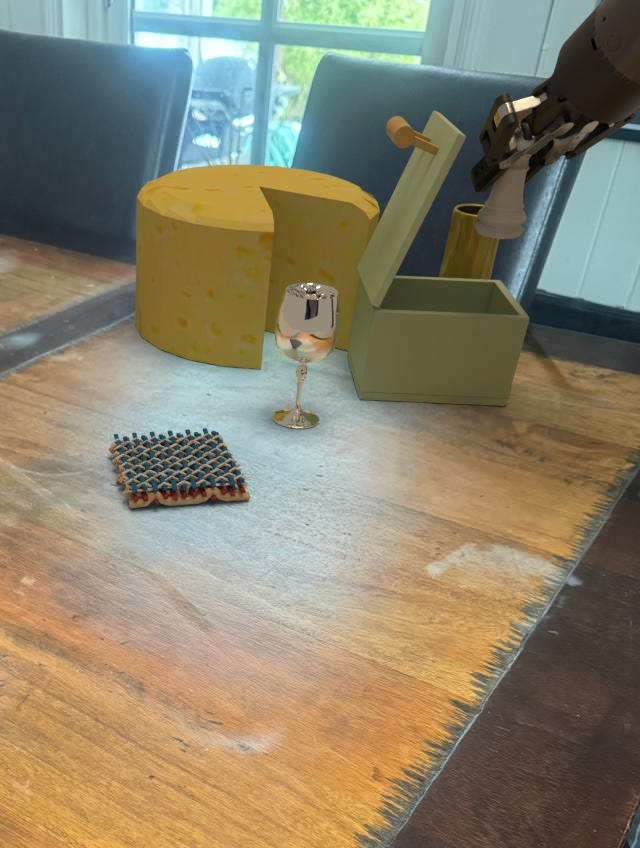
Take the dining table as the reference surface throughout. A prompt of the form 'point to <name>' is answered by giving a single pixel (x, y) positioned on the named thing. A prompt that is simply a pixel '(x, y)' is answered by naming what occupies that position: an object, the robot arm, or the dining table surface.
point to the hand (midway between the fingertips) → (494, 181)
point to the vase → (468, 247)
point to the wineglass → (305, 339)
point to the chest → (437, 341)
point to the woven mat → (177, 469)
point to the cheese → (242, 255)
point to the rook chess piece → (505, 202)
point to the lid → (408, 198)
